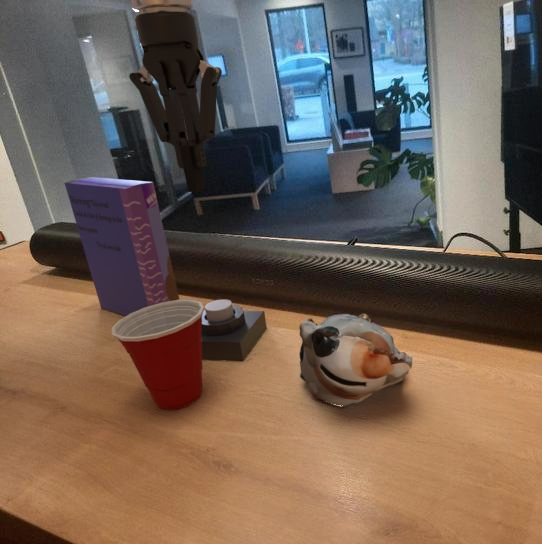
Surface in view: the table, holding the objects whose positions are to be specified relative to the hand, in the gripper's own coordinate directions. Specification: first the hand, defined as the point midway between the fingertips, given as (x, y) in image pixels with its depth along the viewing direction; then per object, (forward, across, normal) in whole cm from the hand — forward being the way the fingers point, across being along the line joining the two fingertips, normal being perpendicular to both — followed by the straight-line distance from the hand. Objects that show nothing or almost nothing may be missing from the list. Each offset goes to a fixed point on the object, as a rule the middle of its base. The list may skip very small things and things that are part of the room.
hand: (197, 189), depth 74 cm
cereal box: (+23, -18, +4) cm, 30 cm away
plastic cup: (+23, +3, -19) cm, 30 cm away
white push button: (+18, +3, -5) cm, 19 cm away
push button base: (+23, +2, -5) cm, 24 cm away
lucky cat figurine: (+23, +26, -15) cm, 38 cm away
